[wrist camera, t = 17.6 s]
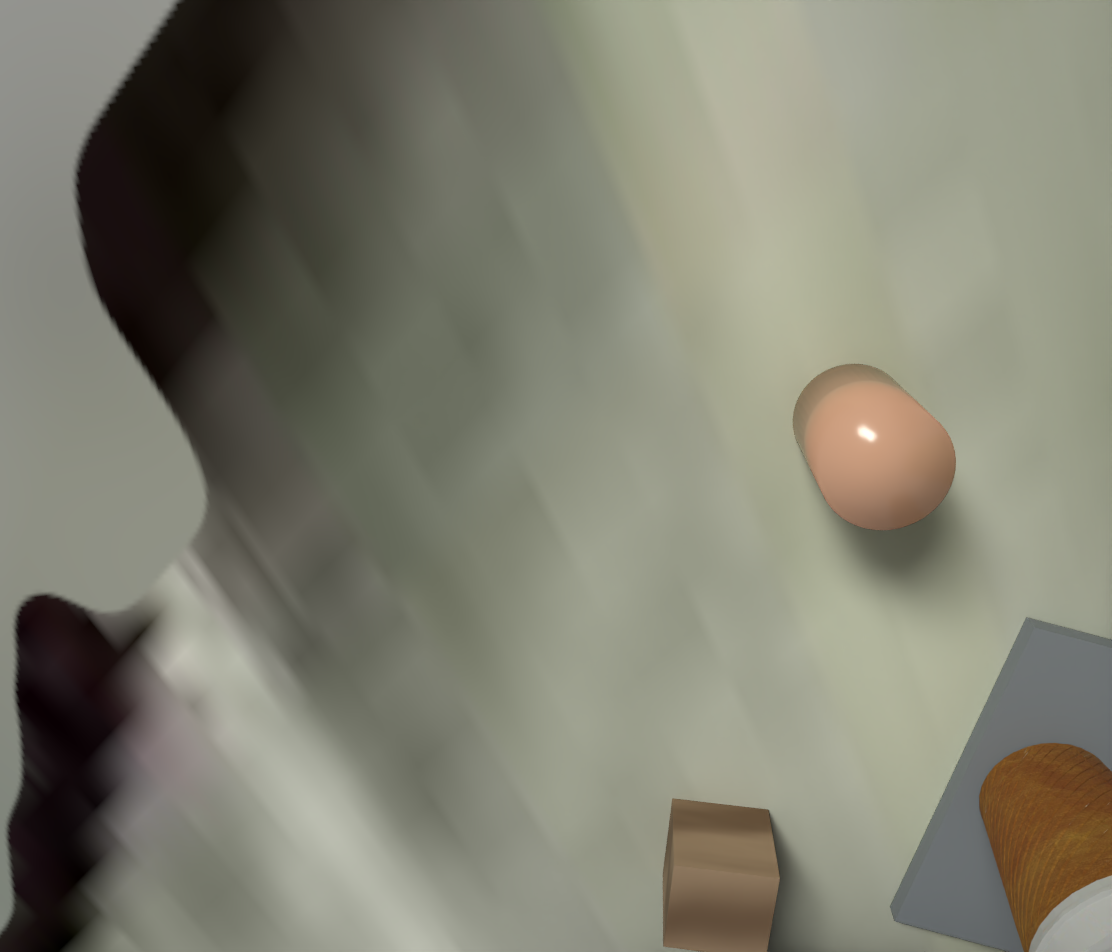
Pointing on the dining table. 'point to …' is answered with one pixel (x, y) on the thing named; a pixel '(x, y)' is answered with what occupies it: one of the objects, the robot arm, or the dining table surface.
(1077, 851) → the disposable coffee cup
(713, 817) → the walnut block
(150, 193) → the dining table surface
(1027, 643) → the slate board
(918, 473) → the light brown egg
